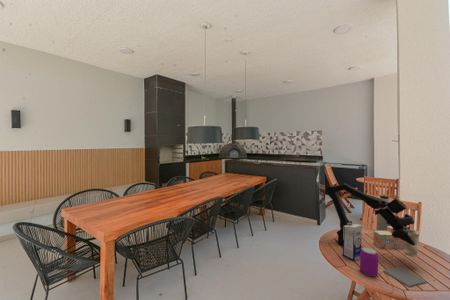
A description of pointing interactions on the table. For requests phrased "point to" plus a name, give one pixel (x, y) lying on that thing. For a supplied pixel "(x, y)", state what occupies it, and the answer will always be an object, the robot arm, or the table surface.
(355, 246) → the milk carton
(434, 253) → the table surface
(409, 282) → the charcoal board
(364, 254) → the beverage can
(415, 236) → the birch block
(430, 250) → the table surface
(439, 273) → the table surface
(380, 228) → the thermos bottle
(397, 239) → the stack of blocks
